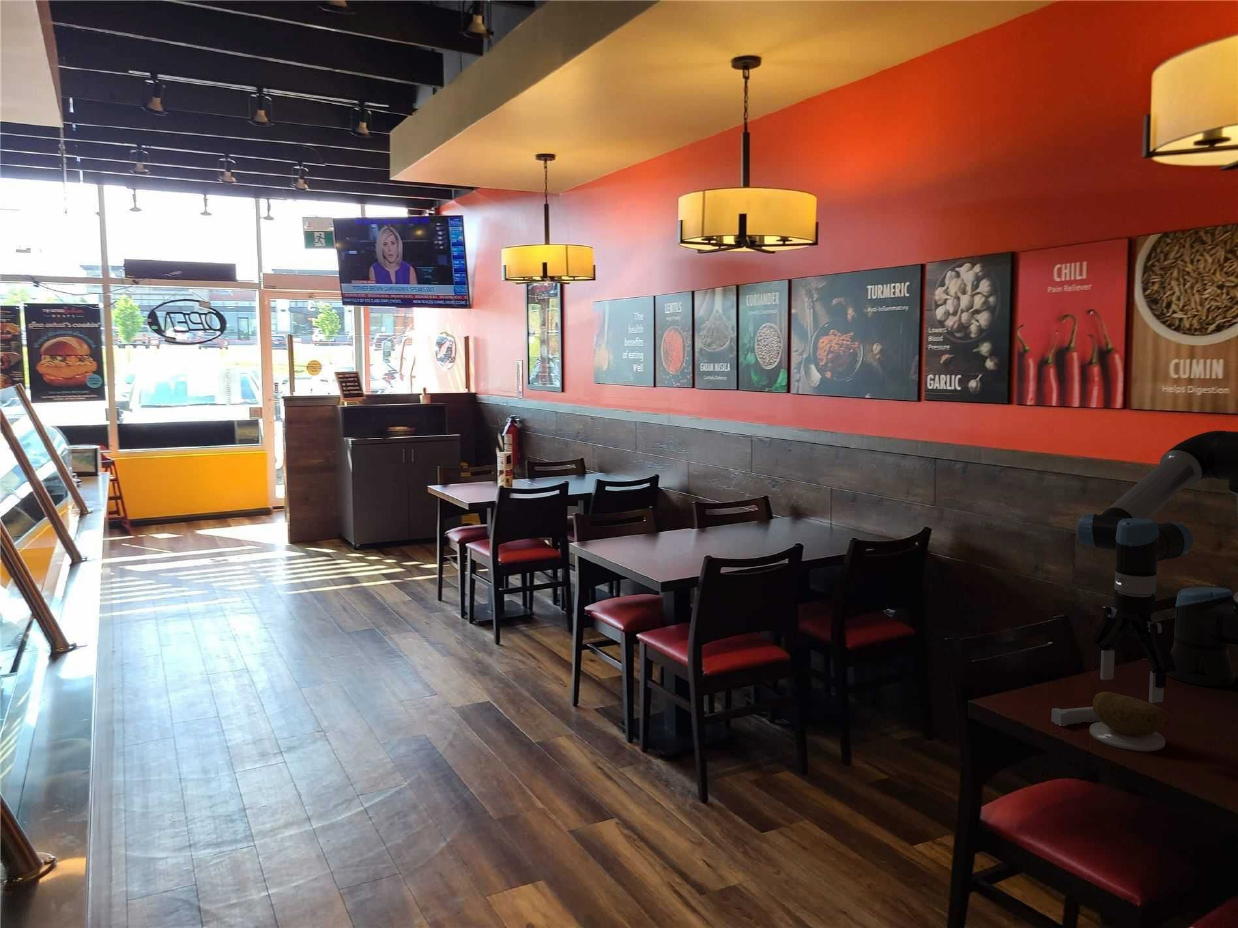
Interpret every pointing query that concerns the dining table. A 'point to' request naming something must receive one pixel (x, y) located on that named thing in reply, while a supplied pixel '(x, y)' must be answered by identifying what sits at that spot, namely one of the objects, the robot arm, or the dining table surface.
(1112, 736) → the plate
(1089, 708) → the rail
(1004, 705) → the dining table surface
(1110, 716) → the potato
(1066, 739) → the dining table surface
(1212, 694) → the dining table surface
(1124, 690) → the dining table surface
